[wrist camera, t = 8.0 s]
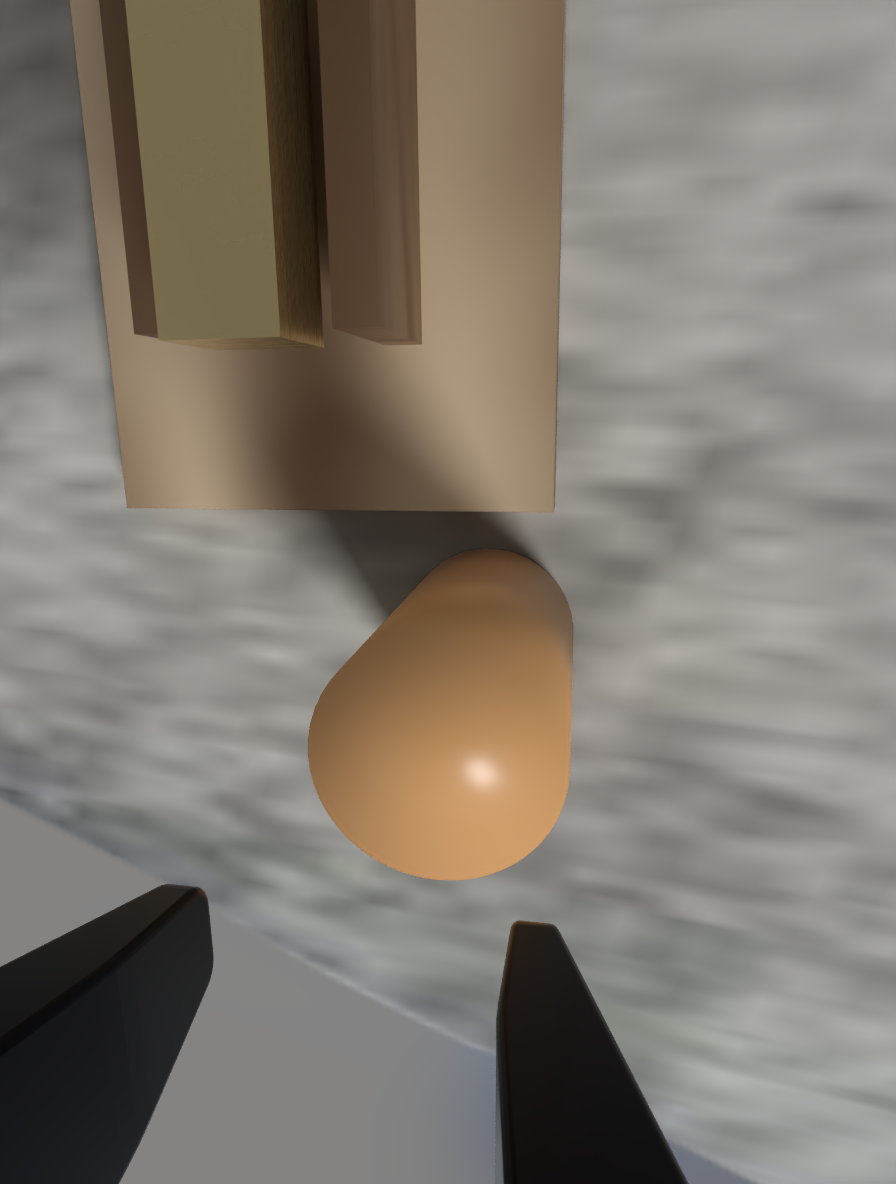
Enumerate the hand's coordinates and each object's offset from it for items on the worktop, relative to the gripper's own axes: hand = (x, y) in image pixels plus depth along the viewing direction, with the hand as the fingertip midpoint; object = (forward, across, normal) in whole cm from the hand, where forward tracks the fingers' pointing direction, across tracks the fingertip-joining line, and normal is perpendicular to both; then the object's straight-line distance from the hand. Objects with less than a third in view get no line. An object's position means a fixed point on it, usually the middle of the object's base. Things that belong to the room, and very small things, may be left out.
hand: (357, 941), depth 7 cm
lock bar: (+7, +4, -11) cm, 13 cm away
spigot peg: (+11, 0, 0) cm, 11 cm away
